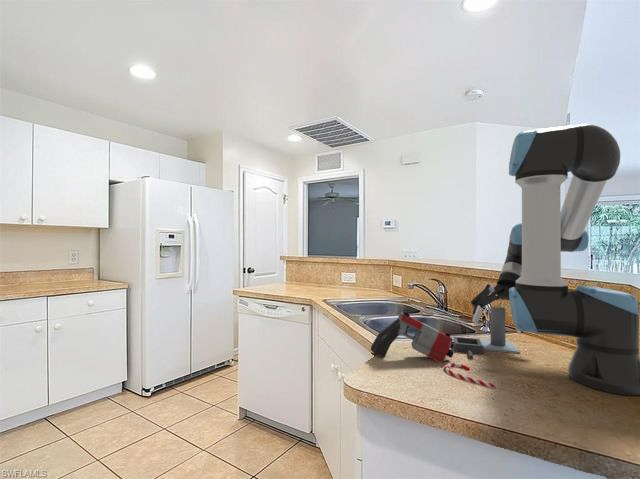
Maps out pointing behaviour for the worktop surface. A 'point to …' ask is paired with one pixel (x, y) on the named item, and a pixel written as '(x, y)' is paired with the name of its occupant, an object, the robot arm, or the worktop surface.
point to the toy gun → (415, 338)
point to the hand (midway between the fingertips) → (495, 326)
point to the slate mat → (507, 348)
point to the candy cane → (483, 383)
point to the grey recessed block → (468, 345)
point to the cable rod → (497, 325)
